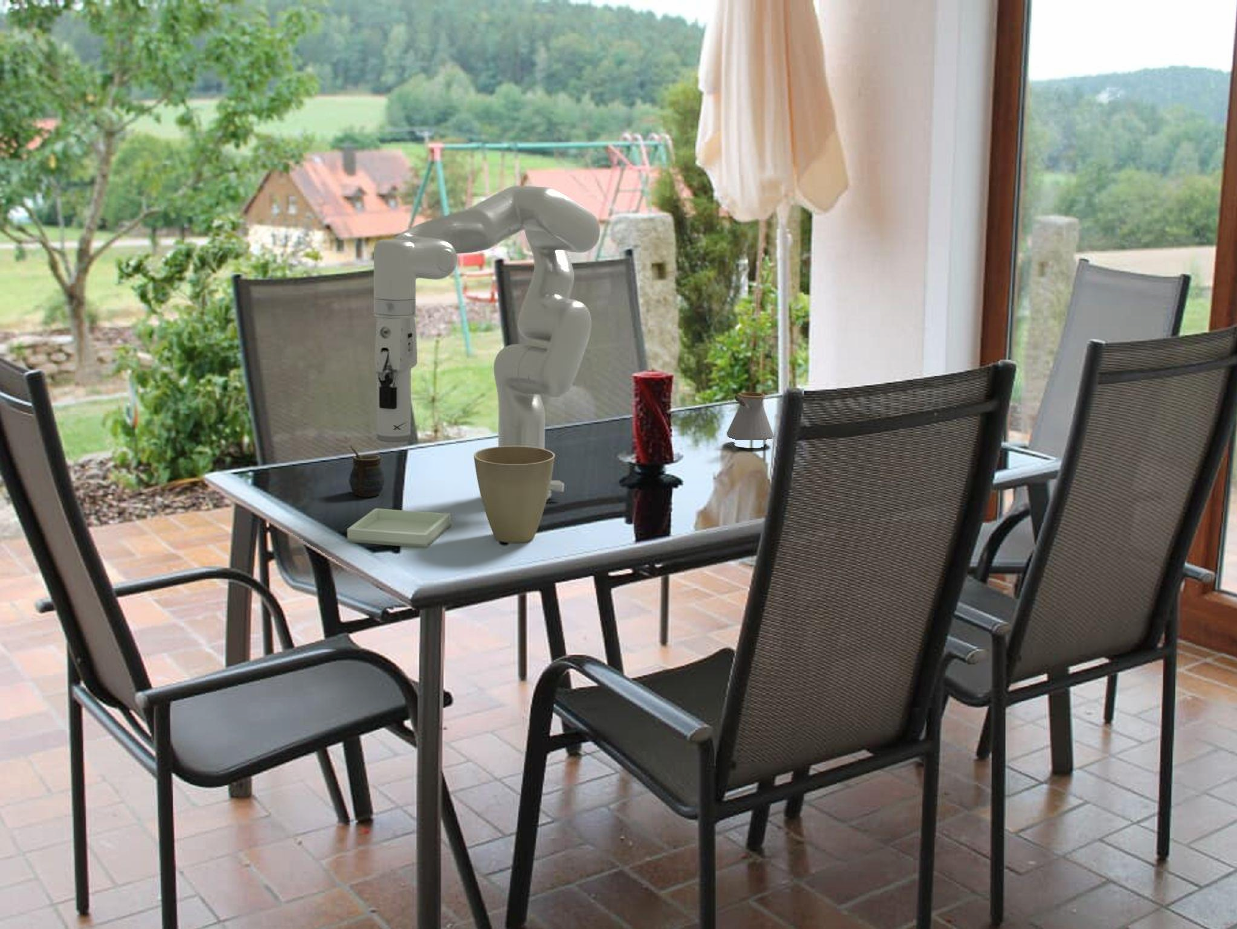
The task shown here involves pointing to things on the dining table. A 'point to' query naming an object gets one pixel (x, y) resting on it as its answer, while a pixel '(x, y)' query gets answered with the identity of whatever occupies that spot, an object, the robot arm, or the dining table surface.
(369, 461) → the mate gourd
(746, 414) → the coffee pot
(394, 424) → the travel mug
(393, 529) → the tray
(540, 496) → the plant pot
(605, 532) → the dining table surface
